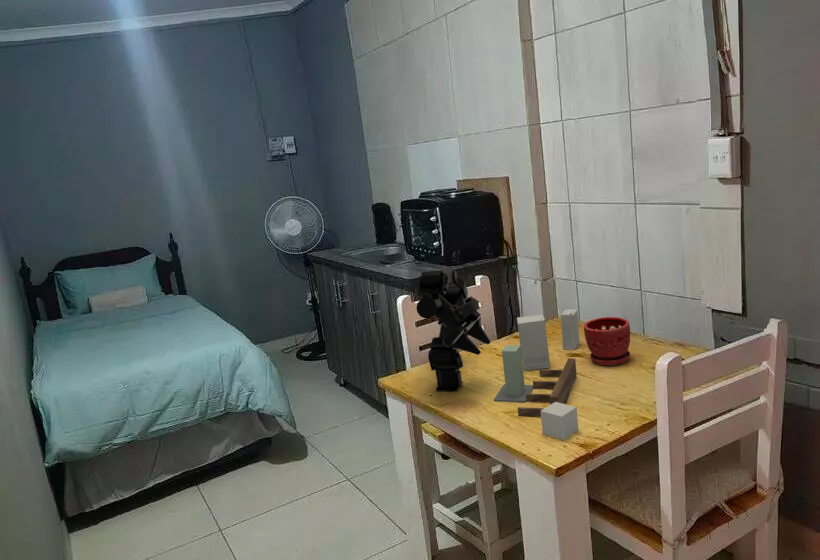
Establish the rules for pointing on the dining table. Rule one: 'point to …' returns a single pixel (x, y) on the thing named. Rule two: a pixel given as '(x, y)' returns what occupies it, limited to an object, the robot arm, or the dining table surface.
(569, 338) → the skincare box
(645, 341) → the dining table surface
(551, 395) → the lane rack
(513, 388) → the sage block
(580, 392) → the dining table surface
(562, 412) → the light grey cube
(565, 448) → the dining table surface
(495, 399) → the slate mat
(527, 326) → the skincare box
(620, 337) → the plant pot
